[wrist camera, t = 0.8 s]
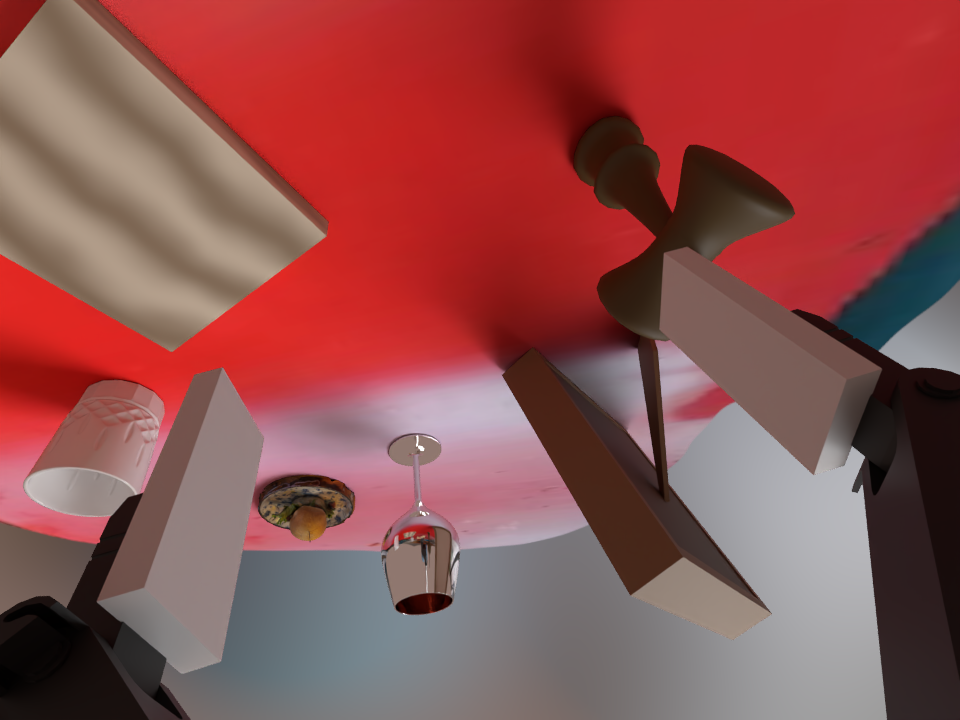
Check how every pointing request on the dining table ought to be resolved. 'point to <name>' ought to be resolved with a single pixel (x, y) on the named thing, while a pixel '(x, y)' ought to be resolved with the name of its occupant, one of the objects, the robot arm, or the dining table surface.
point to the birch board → (133, 181)
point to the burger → (306, 504)
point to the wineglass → (420, 541)
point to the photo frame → (634, 498)
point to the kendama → (669, 211)
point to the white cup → (98, 451)
